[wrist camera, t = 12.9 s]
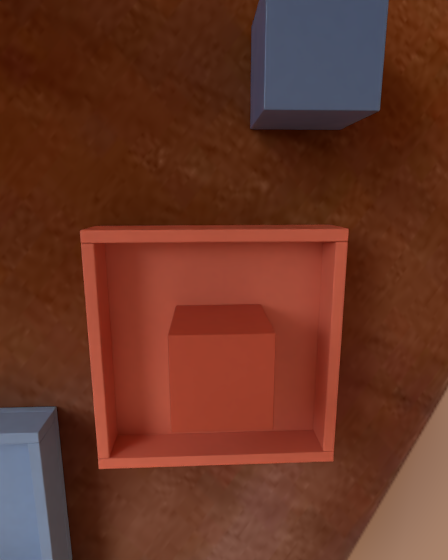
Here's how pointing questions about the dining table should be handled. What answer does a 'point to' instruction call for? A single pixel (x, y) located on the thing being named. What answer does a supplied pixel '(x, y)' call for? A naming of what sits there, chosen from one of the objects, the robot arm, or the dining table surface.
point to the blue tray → (32, 486)
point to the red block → (221, 368)
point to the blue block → (316, 63)
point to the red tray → (212, 291)
